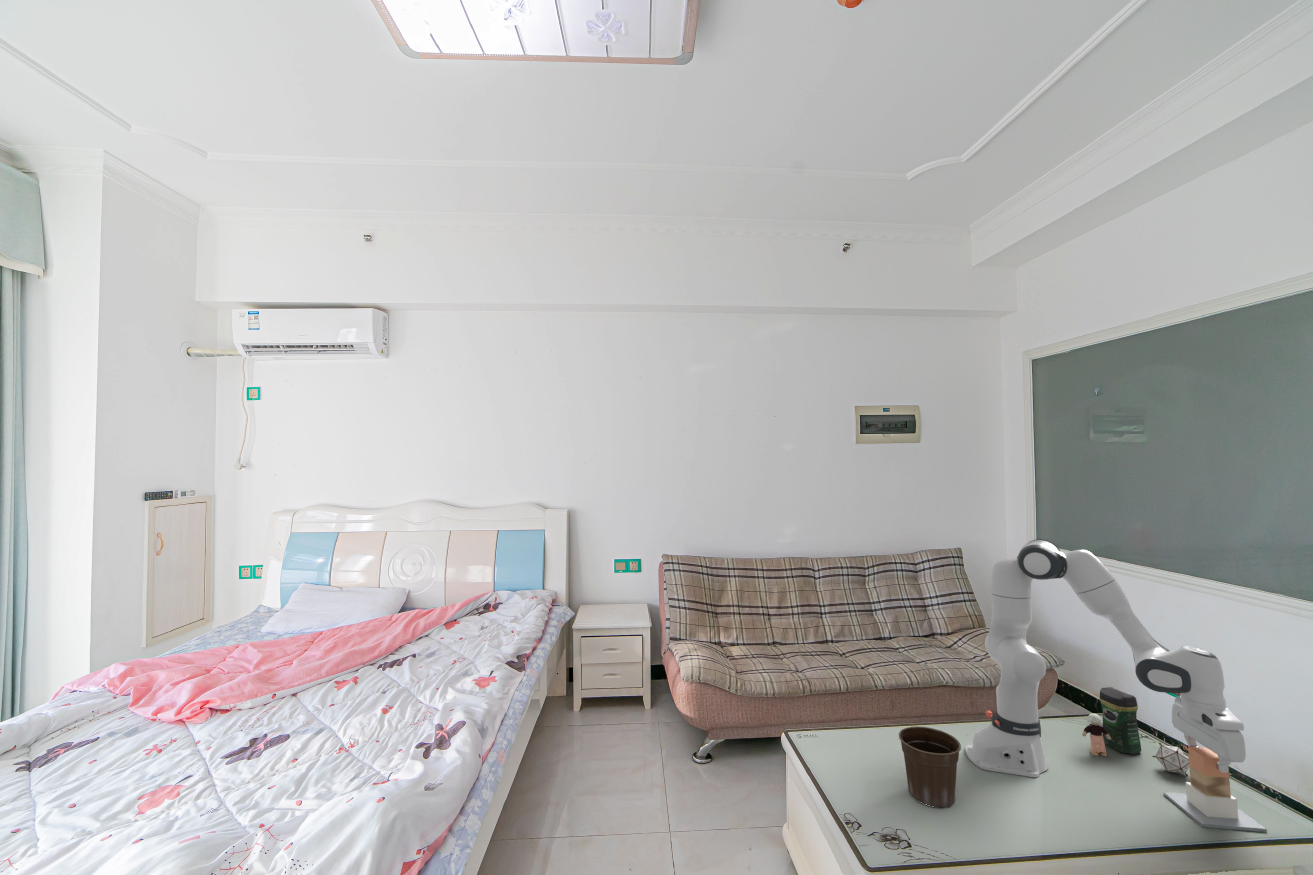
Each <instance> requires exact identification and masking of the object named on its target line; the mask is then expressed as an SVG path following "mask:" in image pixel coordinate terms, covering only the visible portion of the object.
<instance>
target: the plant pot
mask: <svg viewBox="0 0 1313 875" xmlns="http://www.w3.org/2000/svg"><path fill="white" fill-rule="evenodd" d="M898 739H899V740H900V743H901V750H902V752H903V758H904V766H905V773H906V780H907V788H908V789H907V790H908V793H909V792H910V793H909V795H910V794H911V795H912V796H911V795H910V796H911V797H912V798H913V799H914V800H915V799H916V800H918V801H920V802H922V803H924V804H927V805H930V806H934V807H933V808H935V807H942V808H941V809H943V808H945V807H947V808H951V807H952V806H954V804H955V801H956V788H957V787H956V786H957V785H956V784H957V769H958V768H957V767H958V762H959V758H960V757H959V756H960V751H961V750H962V744H961V742H960V741H959V740H958V739H957V738H956V737H954V736H953V735H951V734H950V733H948V732H945V731H943V730H939V729H936V728H934V727H933V728H932V727H928V726H909V727H904V728H903V729H900V731H899V732H898ZM916 800H915V801H916ZM918 801H917V802H918ZM920 802H919V803H920ZM922 803H921V804H922ZM924 804H923V805H924ZM927 805H926V806H927ZM930 806H929V807H930ZM950 806H951V807H950Z"/></svg>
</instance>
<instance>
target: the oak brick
mask: <svg viewBox="0 0 1313 875" xmlns="http://www.w3.org/2000/svg"><path fill="white" fill-rule="evenodd" d="M1188 770H1189V780H1190V782H1191V784H1192V785H1193V786H1194V787H1196V788H1197V789H1198V790H1200V791H1201V792H1202V793H1204V794H1205V795H1207V796H1219V797H1231V783H1230V782H1231V781H1230V777H1229V778H1224V777H1209V776H1204V775H1203V774H1201V773H1200V772H1198V771H1197V770H1196V769H1194V768H1193V767H1191V766H1190V765H1189V768H1188Z"/></svg>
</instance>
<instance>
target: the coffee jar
mask: <svg viewBox="0 0 1313 875" xmlns="http://www.w3.org/2000/svg"><path fill="white" fill-rule="evenodd" d="M1099 701H1100V706H1101V709H1102V711H1101V712H1102V727H1103V728H1104V729H1105V730H1106V731H1107V732H1108V734H1109V736H1110V737H1111V739H1110V740H1109V739H1107V737H1106V735H1105V734H1104V733H1102V735H1103V739H1104V743H1105V746H1107V747H1110V748H1112V749H1114V750H1116V751H1118V752H1120V753H1123V754H1130V755H1137V754H1140V753H1141V752H1142V744H1141V739H1140V733H1139V726H1138V720H1137V713H1138V708H1139V705H1138V701H1137V697H1135V695H1132V694H1128V693H1126V692H1124V691H1122V690H1119V689H1116V688H1114V687H1113V686H1109V687H1108V686H1106V687H1101V688H1100V690H1099Z"/></svg>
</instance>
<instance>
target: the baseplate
mask: <svg viewBox="0 0 1313 875" xmlns="http://www.w3.org/2000/svg"><path fill="white" fill-rule="evenodd" d="M1185 790H1186V791H1185V792H1186V793H1182V792H1181V793H1179V792H1169V791H1168V792H1167V791H1166V792H1165V791H1164V792H1163V796H1165V797H1166V799H1168V800H1169V801H1170V802H1172V804H1174V805H1175V806H1176V807H1178V808H1179V809H1180V810H1181V811H1182V812H1184V813H1185V814H1186V815H1187V816H1189V817H1190V818H1191V819H1192V820H1193V821H1195V822H1196V823H1197V824H1198V825H1200V827H1202V828H1209V829H1221V830H1222V829H1225V830H1234V831H1235V830H1236V831H1247V832H1248V831H1249V832H1262V833H1267V830H1268V829H1267V828H1266V827H1265V826H1263V825H1262V824H1260V823H1259V822H1258V821H1257V820H1255V819H1254V818H1252V817H1251V816H1249V815H1248V814H1247V813H1245V812H1244V811H1242V810H1241V809H1240V808H1239V807H1238V799H1237V798H1236V797H1234V796H1233V795H1231V797H1219V796H1207V795H1205V794H1204V793H1202V792H1201V791H1200V790H1198V789H1197V788H1196V787H1194V786H1193V785H1192V784H1191V781H1190V782H1189V781H1185Z"/></svg>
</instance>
